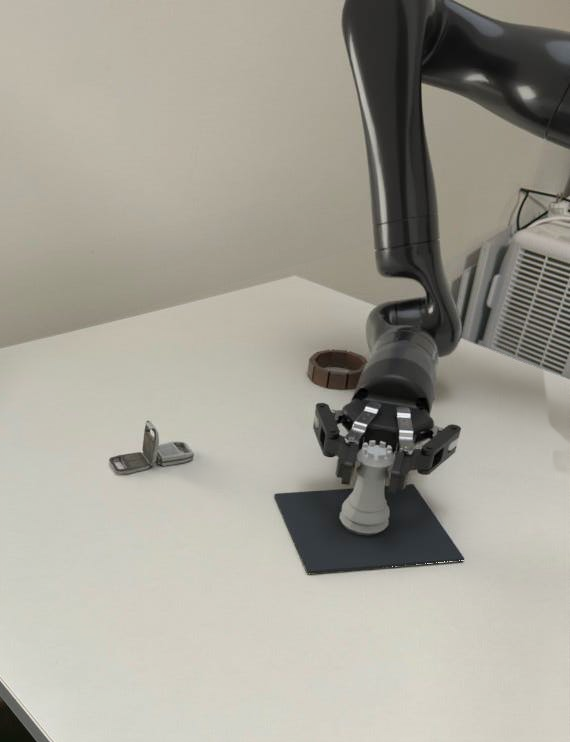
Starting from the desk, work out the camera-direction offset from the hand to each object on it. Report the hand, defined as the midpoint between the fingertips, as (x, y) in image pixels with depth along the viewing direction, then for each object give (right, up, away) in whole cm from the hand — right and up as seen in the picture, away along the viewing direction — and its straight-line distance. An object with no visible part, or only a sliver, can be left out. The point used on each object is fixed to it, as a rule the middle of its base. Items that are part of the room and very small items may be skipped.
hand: (370, 479), depth 70 cm
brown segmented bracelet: (+4, +15, +32) cm, 35 cm away
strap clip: (-19, +3, +15) cm, 24 cm away
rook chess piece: (+1, -4, +6) cm, 7 cm away
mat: (+1, -4, +6) cm, 7 cm away
